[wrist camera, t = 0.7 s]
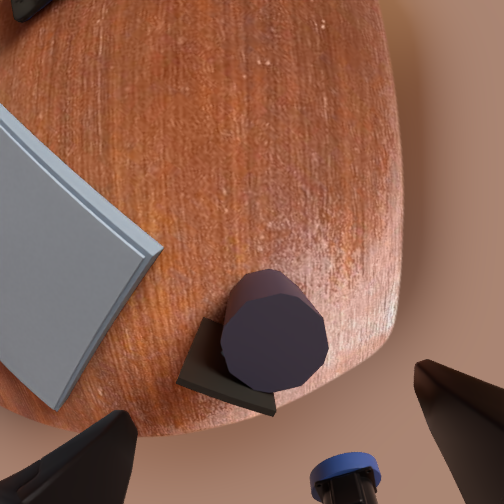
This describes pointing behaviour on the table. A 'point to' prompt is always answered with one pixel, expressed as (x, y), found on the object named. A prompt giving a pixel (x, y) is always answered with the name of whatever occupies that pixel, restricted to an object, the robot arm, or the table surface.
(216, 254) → the table surface
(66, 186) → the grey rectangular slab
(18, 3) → the game console
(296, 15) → the table surface
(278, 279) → the speaker
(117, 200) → the table surface
